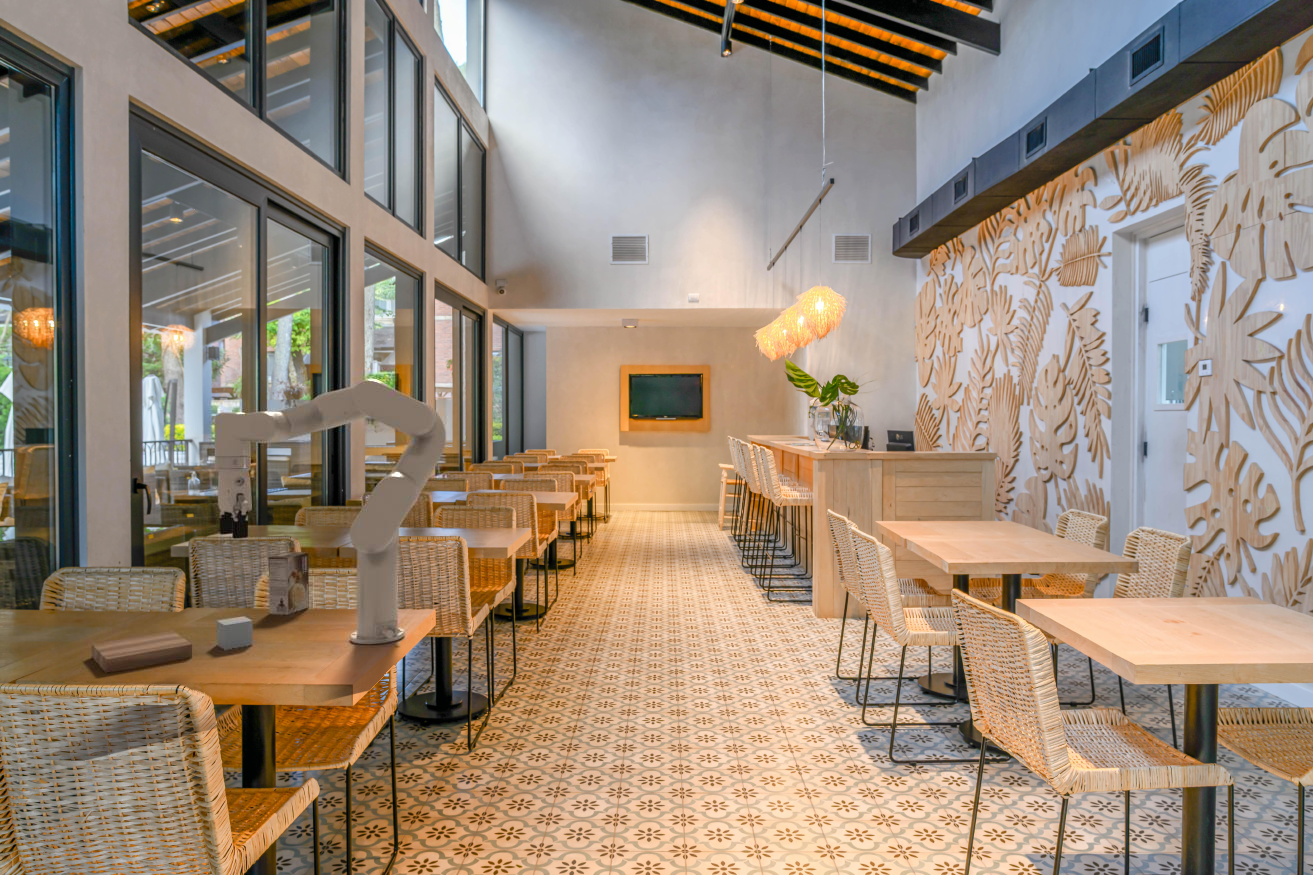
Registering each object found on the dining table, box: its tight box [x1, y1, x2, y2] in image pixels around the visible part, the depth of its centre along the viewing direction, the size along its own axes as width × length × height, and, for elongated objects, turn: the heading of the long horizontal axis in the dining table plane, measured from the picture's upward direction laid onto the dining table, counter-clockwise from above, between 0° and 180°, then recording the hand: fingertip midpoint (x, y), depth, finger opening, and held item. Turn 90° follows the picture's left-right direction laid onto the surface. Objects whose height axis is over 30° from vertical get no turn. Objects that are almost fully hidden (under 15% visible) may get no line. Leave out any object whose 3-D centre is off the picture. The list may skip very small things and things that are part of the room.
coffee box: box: [268, 551, 310, 615], centre depth 219 cm, size 9×6×16 cm
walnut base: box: [91, 630, 193, 673], centre depth 175 cm, size 16×16×3 cm
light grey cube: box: [216, 616, 253, 651], centre depth 184 cm, size 6×6×6 cm
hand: (233, 535), depth 184 cm, fingers open, 9 cm apart
